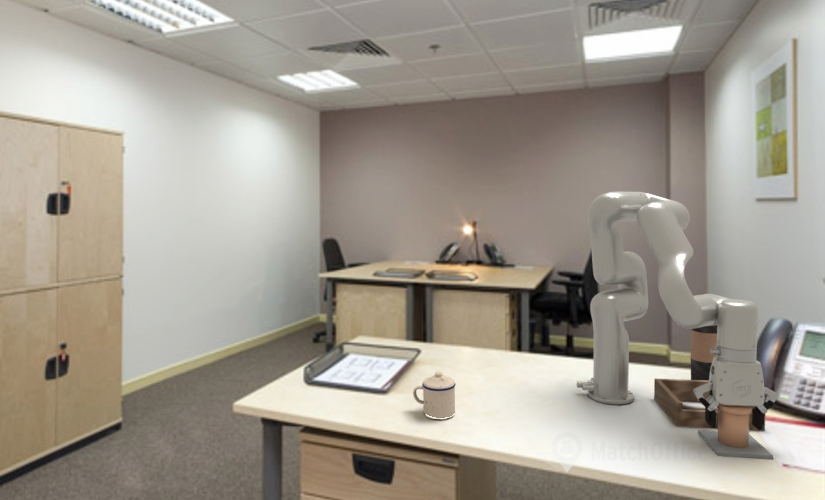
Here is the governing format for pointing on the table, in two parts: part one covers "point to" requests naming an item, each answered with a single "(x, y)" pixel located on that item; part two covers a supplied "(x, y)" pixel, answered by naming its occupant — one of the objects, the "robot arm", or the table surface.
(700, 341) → the travel mug
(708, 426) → the brown wooden square frame
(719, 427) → the terracotta pot
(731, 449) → the slate mat
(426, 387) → the teacup with lid
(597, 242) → the robot arm
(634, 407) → the table surface
